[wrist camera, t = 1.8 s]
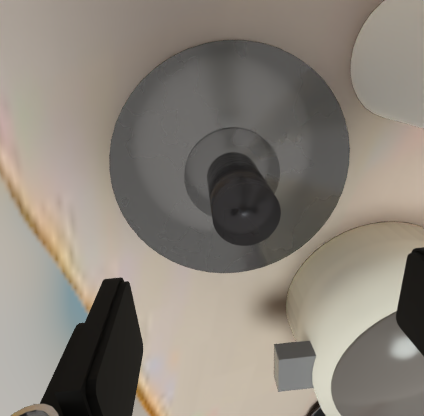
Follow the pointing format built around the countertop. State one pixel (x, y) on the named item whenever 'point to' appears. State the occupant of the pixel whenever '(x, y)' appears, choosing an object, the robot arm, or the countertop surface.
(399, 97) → the cylindrical container
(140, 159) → the lid
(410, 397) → the pot
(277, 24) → the countertop surface
